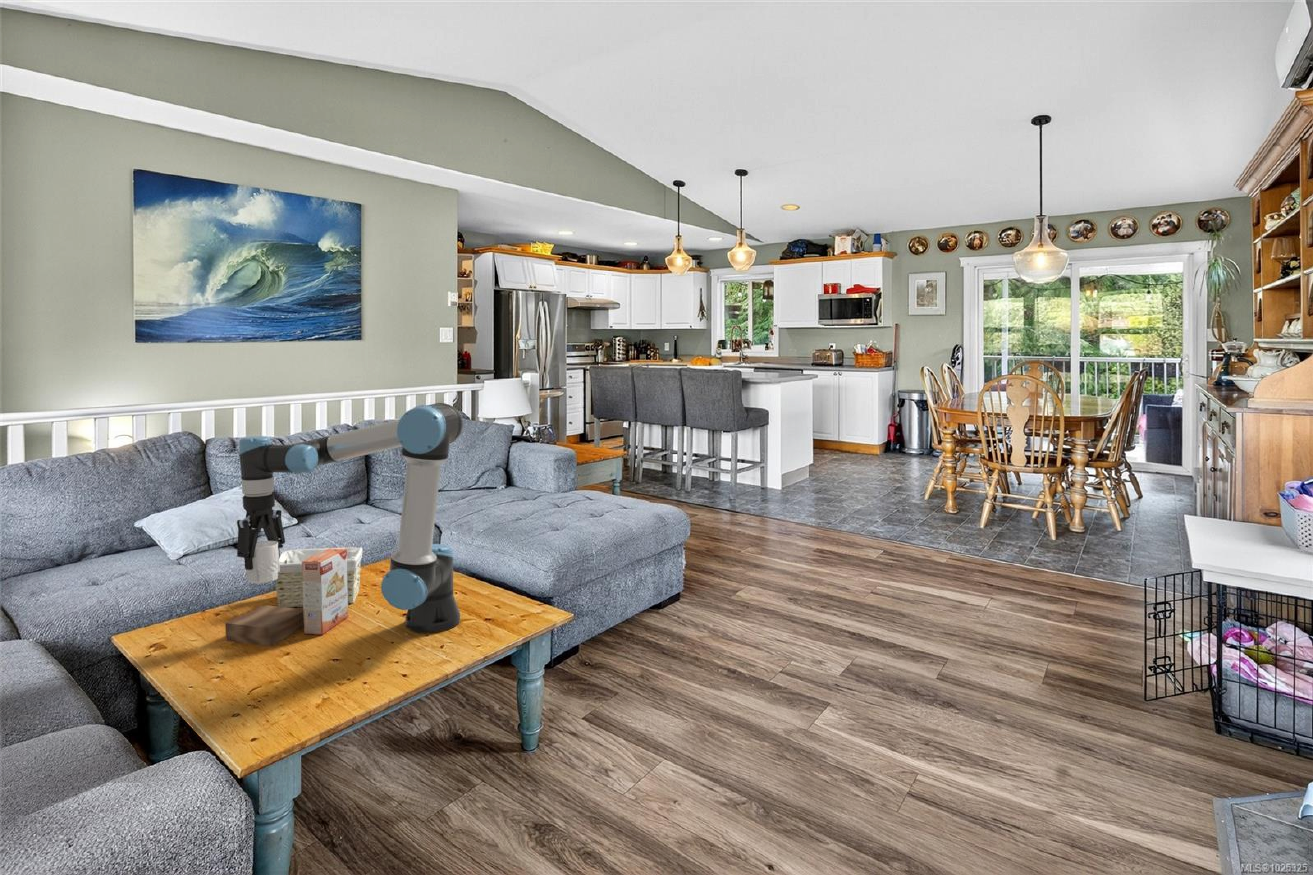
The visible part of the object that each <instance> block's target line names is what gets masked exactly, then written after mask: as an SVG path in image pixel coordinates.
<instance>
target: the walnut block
mask: <svg viewBox="0 0 1313 875" xmlns="http://www.w3.org/2000/svg"><path fill="white" fill-rule="evenodd" d="M224 626H225V627H224V628H225V641H226V642H233V643H240V644H241V643H242V644H249V645H258V646H259V645H260V646H265V647H266V646H268V647H272V646H274V645H276V644H278V643H280V642H282V641H284V640H285V639H287V638H289V637H290V636H293V635H294V634H296V633H298V632H300V631H301V630H304V614H303V608H297V607H289V608H286V607H279V606H275V605H267V604H264V605H262V606H260V607H257V608H255V609H253V610H251V611H248V612H246V613H244V614H241V615H240V616H237V617H235V618H233V619H231V620H228V621H226V622H225V623H224Z"/></svg>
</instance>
